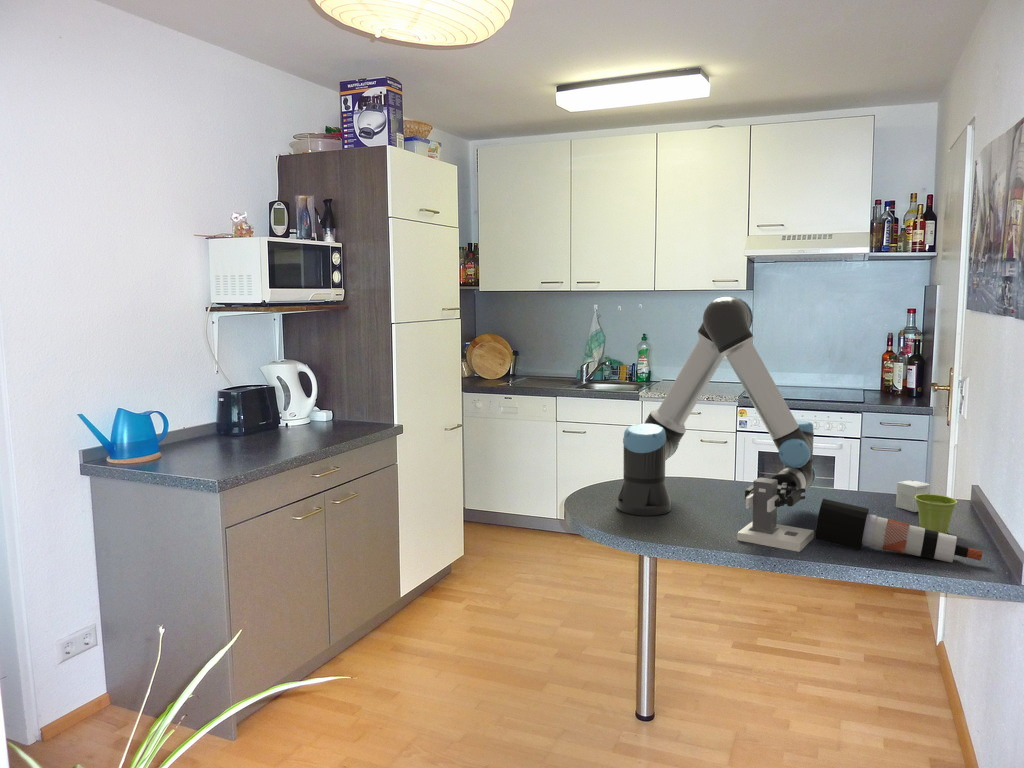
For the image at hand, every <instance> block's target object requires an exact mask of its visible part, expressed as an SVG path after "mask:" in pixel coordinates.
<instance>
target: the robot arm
mask: <svg viewBox="0 0 1024 768" xmlns="http://www.w3.org/2000/svg"><path fill="white" fill-rule="evenodd" d="M753 319H754V317H753V311H752V308H751V307H750V306H749V304H748V303H747V302H746V301H745V300H743V299H742V298H739V297H737V296H723V297H720V298H719V297H718V298H716V299H714V300H713V301H711V302H710V303H709V304H708V305H707V307H706V308H705V309H704V313H703V316H702V323H701V325H700V327H699V328H698V330H697V335H698V341H697V343H695V345H694V347H693V349H692V351H691V353H690V354H689V356H688V358H687V359H686V361H685V363H684V365H683V367H682V368H681V369H680V371H679V373H678V374H677V377H676V378H675V380H674V382H673V383H672V385H671V387H670V389H669V390H668V392H667V394H666V396H665V397H664V399H663V400H662V402H661V404H660V406H659V407H658V408H657V409H653V410H651V411H650V413H649V414H648V416H647V417H646V419H645V421H644V422H643V423H637V424H633V425H630V426H628V427H627V428H626V429H625V430H624V433H623V439H622V443H623V480H622V481H623V482H622V484H621V488H620V489H619V493H618V497H617V500H616V508H617V510H619V512H623V513H625V514H629V515H636V516H645V517H647V516H660V515H664V514H667V513H669V512H671V511H672V501H671V498H670V494H669V492H668V491H669V490H668V487H667V485H666V461H667V460H668V459H669V458H671V457H672V456H673V455H674V454H675V453H676V452H677V450H678V448H679V445H680V442H681V440H682V439H683V437H684V435H685V433H686V431H687V430H686V425H685V423H686V421H687V420H688V418H689V416H690V415H691V414H692V411H693V409H694V408H695V407H696V405H697V403H698V401H699V400H700V398H701V396H702V394H703V393H704V391H705V389H706V388H707V386H708V385H709V384H710V382H711V380H712V378H713V377H714V375H715V373H716V372H717V369H718V368H719V366H720V365H721V364H722V361H723V360H724V358H726V359H727V361H728V362H729V365H730V366H731V368H732V370H733V371H734V373H735V375H736V377H737V379H738V380H739V382H740V384H741V386H742V387H743V389H744V391H745V393H746V394H747V396H748V399H749V400H750V402H751V404H752V405H753V407H754V409H755V411H756V412H757V415H758V416H759V418H760V420H761V421H762V423H763V425H764V426H765V428H766V430H767V432H768V434H769V435H770V437H771V439H772V441H773V443H774V446H775V447H776V448H777V451H778V457H779V460H780V461H781V463H782V464H783V469H782V470H780V471H779V472H778V473H776V474H775V475H773V476H772V477H771V478H770V479H776V480H778V483H777V495H775V496H774V497H772V498H771V499H769V500H768V501H767V512H771V511H773V510H774V509H775V508H777V509H778V508H780V507H785V505H786V506H787V507H793V506H794V505H797V503H799V502H800V501H802V500H804V499H806V490H807V489H808V488H810V487H811V486H812V485H813V483H814V482H815V480H816V479H817V478H816V477H817V471H816V469H815V467H814V465H813V464H814V462H813V460H814V459H813V455H814V454H813V453H814V452H813V451H814V437H815V436H814V435H815V432H814V425H813V423H812V422H810V421H807V420H796V419H795V417H794V415H793V413H792V411H791V410H790V408H789V406H788V404H787V402H786V400H785V399H784V397H783V394H781V392H780V390H779V388H778V387H777V385H776V383H775V381H774V379H773V377H772V375H771V374H770V372H769V370H768V368H767V366H766V365H765V363H764V362H763V360H762V357H761V356H760V354H759V352H758V351H757V348H756V347H755V345H754V344H753V340H754V338H755V337H754V335H753V333H752V331H751V330H750V329H751V326H752V324H753ZM744 501H745V509H747V510H750V509H751V508H753V484H752V485H750V486H748V487H747V488H746V489H745V490H744Z"/></svg>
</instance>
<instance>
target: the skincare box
mask: <svg viewBox="0 0 1024 768" xmlns="http://www.w3.org/2000/svg"><path fill="white" fill-rule="evenodd" d="M930 492H931V484H929V483H927V482H922V481H918V480H913V479H910V480H903V481H897V483H896V498H895V507H896V508H898V509H902V510H905V511H909V512H912V513H916V512H918V505H917V502H916V499H915V496H916V495H919V494H931V493H930Z"/></svg>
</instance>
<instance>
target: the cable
mask: <svg viewBox="0 0 1024 768" xmlns="http://www.w3.org/2000/svg"><path fill="white" fill-rule="evenodd" d="M869 511H870V508H868V507H866V506H859V505H854V504H850V503H845V502H841V501H836V500H831V499H826V498H822V501H821V503H820V507H819V511H818V515H817V521H816V528H815V533H814V538H815V540H816V541H820V542H824V543H829V544H833V545H837V546H841V547H844V548H849V549H854V550H858V551H862V548H863V546H865V547H869V548H877V549H881V550H882V551H890V552H894V553H897V554H898V553H899V554H902V555H905V554H908V555H911V556H915V557H916V556H917V557H923V558H927V559H931V560H938V561H942V562H947V563H951V564H952V563H953V561H954V557H955V556H958V557H962V558H966V559H967V558H968V559H972V560H977V561H980V562H981V561H982V559H983V558H982V557H983V550H980V549H976V548H969V547H967V546H964V545H960V544H959V545H958V544H957V538H958V537H957V536H955V535H951V534H948V533H947V534H943V533H938V532H936V531H932V530H927V529H925V528H921V527H920V526H916V525H911V524H910V523H907V522H904V521H903V522H902V521H898V520H893V519H889V518H885V517H880V516H877V515H876V514H870V513H869Z"/></svg>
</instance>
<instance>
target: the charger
mask: <svg viewBox="0 0 1024 768" xmlns="http://www.w3.org/2000/svg"><path fill="white" fill-rule="evenodd" d="M777 483H778V480H776V479H771V478H766V477H758V478H756V479H755V480H753V484H752V485H753V506H752V521H753V528H755V529H761V530H766V531H772V530H773V529H774V528H775V527H776V524H778V523H777V522H778V519H777V517H778V515H777V514H778V507H777V508H775V509H774V510H773V511H771V512H767V501H768V500H769V499H771V498H772V497H774V496H775V495H777Z"/></svg>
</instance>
